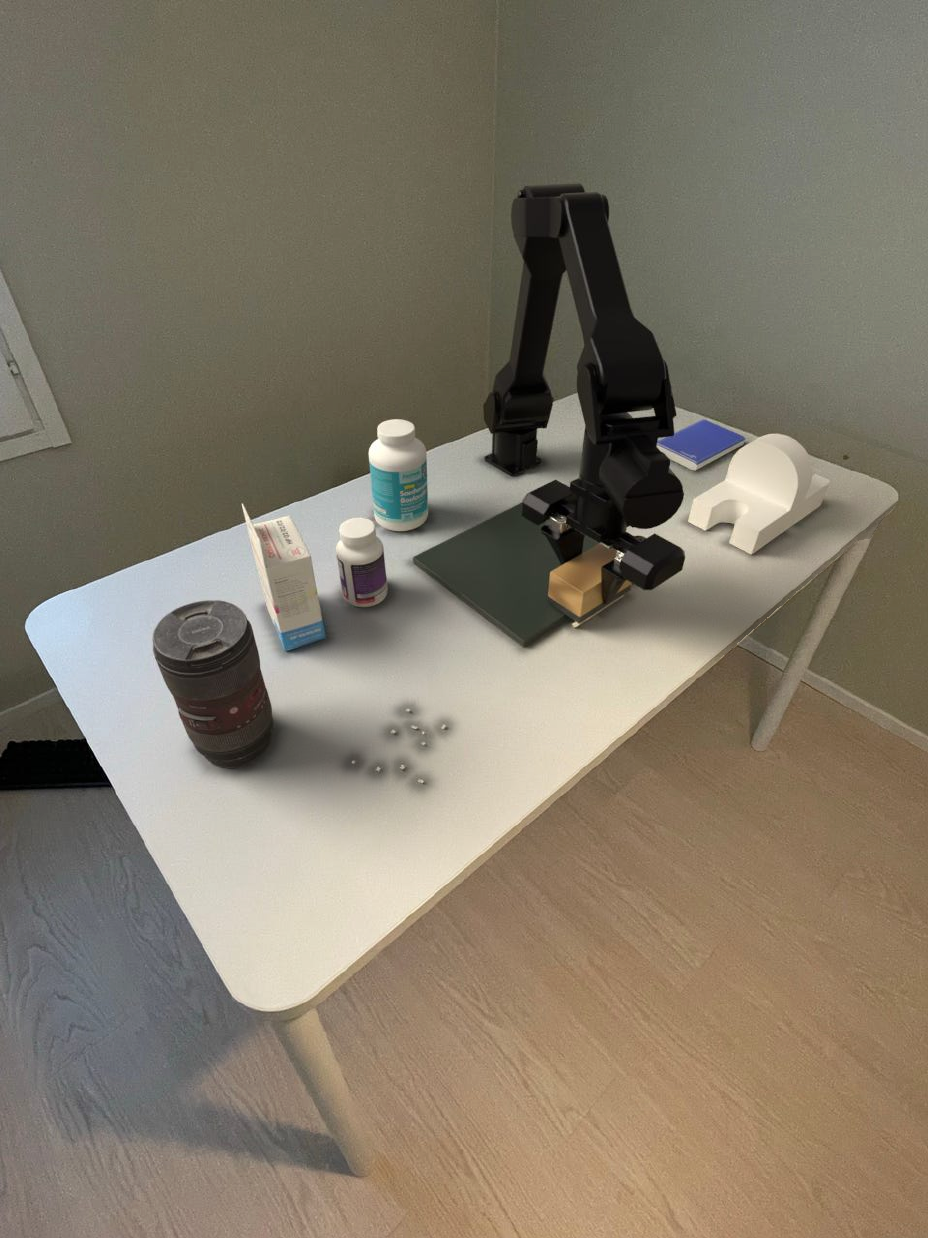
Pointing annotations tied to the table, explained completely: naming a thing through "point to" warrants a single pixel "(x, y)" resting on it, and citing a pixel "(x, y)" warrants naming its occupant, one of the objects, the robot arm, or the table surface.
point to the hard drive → (699, 444)
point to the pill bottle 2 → (398, 476)
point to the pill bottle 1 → (361, 563)
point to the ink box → (287, 580)
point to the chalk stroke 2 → (613, 602)
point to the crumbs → (422, 744)
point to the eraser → (582, 584)
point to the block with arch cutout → (762, 492)
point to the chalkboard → (501, 573)
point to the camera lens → (216, 680)
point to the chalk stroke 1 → (584, 620)
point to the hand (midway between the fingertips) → (589, 591)
